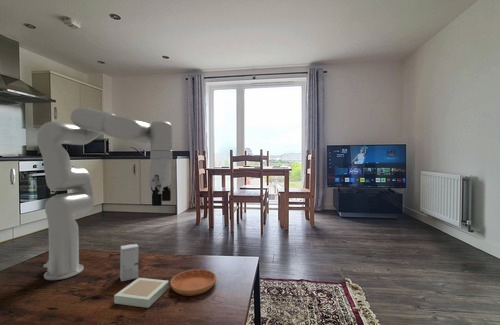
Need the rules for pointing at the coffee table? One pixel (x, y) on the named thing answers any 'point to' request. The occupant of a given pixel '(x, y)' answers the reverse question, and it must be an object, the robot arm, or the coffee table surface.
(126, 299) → the picture frame
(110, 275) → the coffee table surface
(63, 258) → the robot arm
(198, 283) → the saucer
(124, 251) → the skincare box
